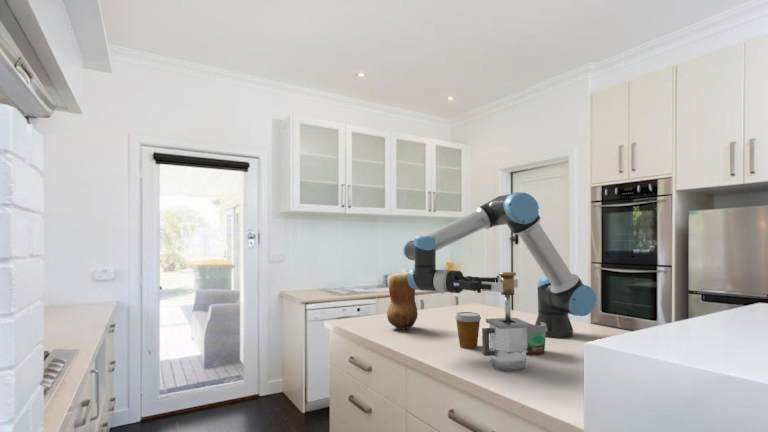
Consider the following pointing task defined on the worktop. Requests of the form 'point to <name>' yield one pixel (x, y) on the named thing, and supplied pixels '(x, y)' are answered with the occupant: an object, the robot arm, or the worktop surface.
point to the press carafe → (506, 344)
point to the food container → (536, 339)
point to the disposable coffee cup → (468, 329)
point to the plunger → (507, 291)
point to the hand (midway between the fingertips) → (510, 285)
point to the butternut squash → (401, 302)
